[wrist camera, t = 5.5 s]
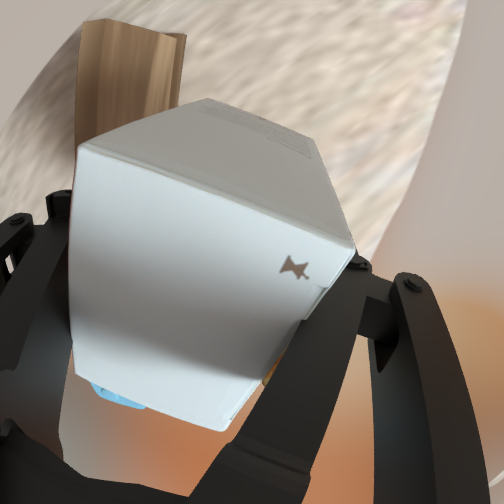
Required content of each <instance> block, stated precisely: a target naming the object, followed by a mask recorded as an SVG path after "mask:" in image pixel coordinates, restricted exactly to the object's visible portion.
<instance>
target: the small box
mask: <svg viewBox="0 0 504 504" xmlns="http://www.w3.org/2000/svg"><path fill="white" fill-rule="evenodd" d="M355 250H356V248H355V244H354V241H353V239H352V236H351V234H350V231H349V227H348V224H347V222H346V219H345V217H344V213H343V211H342V208H341V206H340V203H339V201H338V198H337V195H336V193H335V190H334V188H333V185H332V183H331V180H330V178H329V175H328V173H327V170H326V168H325V166H324V163H323V161H322V158H321V156H320V154H319V151H318V149H317V147H316V144H315V142H314V140H313V139H311V138H309V137H306V136H304V135H302V134H299V133H297V132H295V131H293V130H290V129H288V128H286V127H283V126H281V125H279V124H276V123H274V122H271V121H269V120H266V119H264V118H261V117H259V116H256V115H254V114H251V113H249V112H246V111H243V110H241V109H238V108H235V107H233V106H230V105H227V104H224V103H221V102H218V101H215V100H212V99H209V98H206V99H203V100H199V101H196V102H192V103H189V104H185V105H182V106H179V107H176V108H172V109H169V110H166V111H163V112H160V113H157V114H154V115H152V116H149V117H146V118H143V119H140V120H137V121H134V122H131V123H129V124H126V125H123V126H121V127H119V128H116V129H114V130H111V131H109V132H106V133H104V134H101V135H99V136H97V137H94V138H92V139H90V140H88V141H86V142H84V143H82V144H80V145H79V146H78V148H77V153H76V161H75V169H74V177H73V186H72V195H71V206H70V219H69V243H68V300H69V318H70V332H71V337H72V340H73V345H72V355H73V364H74V372H75V373H76V374H77V375H79V376H81V377H83V378H85V379H86V380H88V381H90V382H92V383H94V384H96V385H98V386H100V387H102V388H104V389H106V390H109V391H111V392H113V393H115V394H118V395H120V396H122V397H125V398H127V399H129V400H131V401H134V402H136V403H139V404H141V405H143V406H146V407H149V408H151V409H154V410H156V411H159V412H162V413H164V414H167V415H170V416H173V417H175V418H178V419H181V420H184V421H187V422H190V423H193V424H196V425H199V426H203V427H206V428H209V429H213V430H216V431H224V430H226V429H227V428H228V426H229V424H230V423H231V421H232V420H233V418H234V417H235V415H236V414H237V412H238V411H239V410H240V409H241V407H242V406H243V405H244V403H245V402H246V401H247V400H248V398H249V397H250V396H251V394H252V393H253V392H254V390H255V389H256V388H257V386H258V385H259V384H260V382H261V381H262V380H263V378H264V377H265V376H266V374H267V373H268V372H269V370H270V369H271V368H272V366H273V365H274V364H275V362H276V361H277V360H278V358H279V357H280V356H281V354H282V353H283V351H284V350H285V349H286V347H287V346H288V345H289V343H290V341H291V339H292V337H293V336H294V334H295V332H296V330H297V328H298V326H299V324H300V322H301V320H302V319H303V320H306V319H307V318H308V317H309V316H310V314H311V313H312V311H313V310H314V309H315V307H316V306H317V304H318V303H319V302H320V300H321V299H322V297H323V296H324V295H325V293H326V292H327V291H328V290H329V289H330V288H331V286H332V285H333V284H334V282H335V281H336V280H337V278H338V277H339V275H340V274H341V272H342V271H343V270H344V268H345V267H346V266H347V264H348V263H349V261H350V260H351V259H352V257H353V256H354V254H355Z"/></svg>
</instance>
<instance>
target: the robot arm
mask: <svg viewBox="0 0 504 504" xmlns="http://www.w3.org/2000/svg"><path fill="white" fill-rule="evenodd" d="M71 195H72V190H60V191H56V192H53V193H51V194H49V195H48V196H46V204H47V211H48V217H49V218H48V220H47V221H46V223H45V224H44V225H34V224H33V218H32V215H31V214H28V213H17V214H14V215H13V216H11V217H9V218H7V219H6V220H4V221H3V222H2V223H1V224H0V504H301V503H302V501H303V499H304V496H305V494H306V491H307V489H308V486H309V483H310V479H311V477H310V471H311V468H312V465H313V463H314V460H315V457H316V455H317V453H318V450H319V448H320V445H321V442H322V440H323V437H324V435H325V432H326V429H327V426H328V424H329V421H330V418H331V415H332V412H333V410H334V407H335V404H336V401H337V398H338V395H339V392H340V389H341V386H342V383H343V379H344V377H345V373H346V370H347V367H348V363H349V360H350V356H351V353H352V350H353V346H354V343H355V339H356V335H357V334H358V335H361V336H364V337H367V338H368V350H369V360H370V373H371V385H372V402H373V422H374V502H373V504H490V494H489V486H488V480H487V473H486V467H485V461H484V455H483V450H482V445H481V440H480V435H479V431H478V427H477V423H476V418H475V414H474V410H473V406H472V403H471V399H470V395H469V392H468V389H467V385H466V382H465V378H464V375H463V372H462V369H461V366H460V363H459V359H458V356H457V354H456V351H455V348H454V345H453V342H452V339H451V337H450V334H449V331H448V328H447V326H446V323H445V321H444V318H443V315H442V313H441V310H440V308H439V306H438V303H437V301H436V298H435V296H434V293H433V291H432V289H431V287H430V286H429V284H428V283H427V282H426V281H425V280H424V279H423V278H422V277H420V276H418V275H416V274H411V273H405V272H402V273H398V274H397V275H396V276H395V278H394V281H393V282H391V281H388V280H385V279H383V278H380V277H378V276H375V275H374V274H372V265H371V264H370V263H369V261H367V260H366V259H365V258H363V257H361V256H359V255H358V252H357V249H356V250H355V254H354V256H353V257H352V259H351V260H350V261H349V263H348V264H347V266H346V267H345V268H344V270H343V271H342V272H341V274H340V275H339V277H338V278H337V280H336V281H335V282H334V284H333V285H332V286H331V288H330V289H329V290H328V291H327V292H326V293H325V295H324V296H323V297H322V299H321V300H320V302H319V303H318V304H317V306H316V307H315V309H314V310H313V311H312V313H311V314H310V316H309V317H308V318H307V319H306V320H303V319H302V320H301V322H300V324H299V326H298V328H297V330H296V332H295V334H294V336H293V337H292V339H291V341H290V343H289V345H288V347H287V349H286V350H285V352H284V354H283V356H282V358H281V360H280V361H279V363H278V365H277V367H276V369H275V370H274V372H273V374H272V376H271V378H270V379H269V381H268V383H267V385H266V386H265V388H264V390H263V392H262V393H261V395H260V397H259V399H258V401H257V402H256V404H255V405H254V407H253V409H252V411H251V412H250V414H249V416H248V417H247V419H246V420H245V422H244V424H243V425H242V427H241V429H240V431H239V432H238V433H237V435H236V437H235V438H234V439H233V440H232V441H231V442H230V443H227V444H226V445H225V447H223V448H222V450H221V451H220V452H219V454H218V455H217V457H216V458H215V459H214V461H213V462H212V464H211V465H210V467H209V468H208V470H207V471H206V473H205V474H204V476H203V477H202V479H201V480H200V481H199V483H198V484H197V486H196V487H195V489H194V490H193V492H192V493H191V494H190V496H189V497H186V496H181V495H177V494H173V493H169V492H165V491H161V490H158V489H154V488H151V487H147V486H144V485H140V484H132V483H122V482H114V481H105V480H99V479H92V478H87V477H84V476H82V475H81V474H79V473H78V472H77V471H75V470H74V469H73V468H71V467H70V466H69V465H68V464H66V463H65V462H64V461H63V450H62V446H61V442H60V439H59V433H58V428H59V419H60V412H61V404H62V398H63V392H64V385H65V380H66V374H67V369H68V364H69V359H70V354H71V349H72V345H73V340H72V337H71V332H70V318H69V300H68V243H69V219H70V206H71ZM349 231H350V230H349ZM350 234H351V233H350ZM351 236H352V235H351ZM352 239H353V238H352ZM355 248H356V246H355ZM9 255H10V258H11V261H12V265H13V268H14V271H13V272H12V273H9V271H8V268H7V265H6V261H5V259H6V258H7V257H8V256H9Z"/></svg>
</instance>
